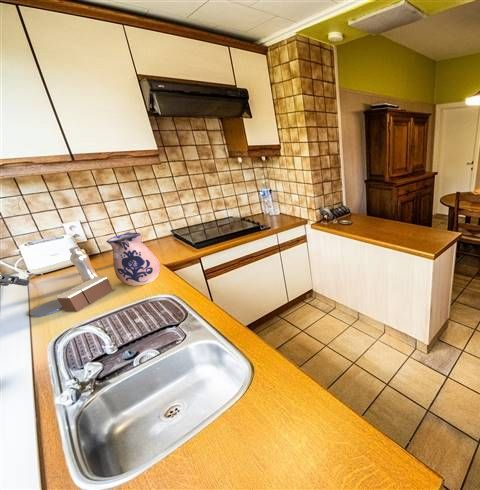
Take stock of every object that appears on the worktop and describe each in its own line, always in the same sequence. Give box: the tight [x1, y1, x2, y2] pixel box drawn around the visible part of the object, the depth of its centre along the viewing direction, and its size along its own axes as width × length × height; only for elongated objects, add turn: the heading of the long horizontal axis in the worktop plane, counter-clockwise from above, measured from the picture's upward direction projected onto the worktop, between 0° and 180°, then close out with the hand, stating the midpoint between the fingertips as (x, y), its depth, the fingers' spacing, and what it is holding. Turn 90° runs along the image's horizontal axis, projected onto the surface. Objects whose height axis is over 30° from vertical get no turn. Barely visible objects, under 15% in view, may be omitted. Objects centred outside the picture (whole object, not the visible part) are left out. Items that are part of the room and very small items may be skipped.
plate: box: [29, 298, 64, 318], centre depth 119 cm, size 13×13×1 cm
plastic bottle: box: [68, 246, 101, 283], centre depth 135 cm, size 6×7×20 cm
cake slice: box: [55, 289, 90, 313], centre depth 116 cm, size 5×6×8 cm
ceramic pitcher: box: [106, 231, 162, 287], centre depth 134 cm, size 18×21×25 cm
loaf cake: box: [69, 276, 114, 305], centre depth 124 cm, size 11×6×8 cm, turn 175°
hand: (18, 283), depth 99 cm, fingers open, 8 cm apart
